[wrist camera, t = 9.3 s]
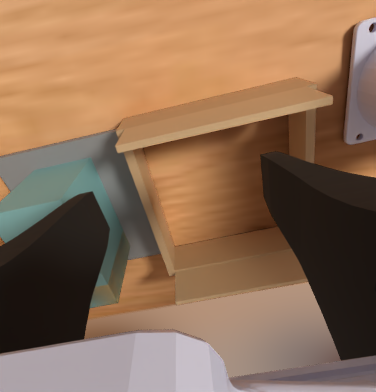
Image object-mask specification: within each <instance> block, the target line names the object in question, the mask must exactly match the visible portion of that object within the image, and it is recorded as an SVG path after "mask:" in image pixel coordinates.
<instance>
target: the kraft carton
mask: <svg viewBox="0 0 376 392" xmlns="http://www.w3.org/2000/svg"><path fill="white" fill-rule="evenodd" d="M332 104H333V96H332V95H329V94H326V93H324V92H321V91H318V90H317V84H316V83H313V82H310V81H307V80H304V79H301V78H297V77H295V78H291V79H287V80H283V81H279V82H274V83H270V84H266V85H262V86H258V87H253V88H249V89H245V90H241V91H237V92H232V93H228V94H224V95H220V96H216V97H211V98H207V99H203V100H199V101H195V102H190V103H186V104H182V105H178V106H174V107H169V108H165V109H161V110H157V111H153V112H148V113H144V114H140V115H136V116H132V117H127V118H124V119H123V120H122V122H121V124H120V125H119V127H118V128H117V130H116V134H117V136H118V139H119V140H118V142H117V144H116V145H115V147H116V150H117V152H118V153H121V152H124V155H125V158H126V161H127V163H128V166H129V169H130V171H131V174H132V177H133V179H134V182H135V185H136V187H137V190H138V193H139V196H140V198H141V201H142V204H143V206H144V209H145V212H146V214H147V217H148V220H149V222H150V225H151V228H152V230H153V233H154V236H155V239H156V241H157V244H158V247H159V249H160V252H161V255H162V257H163V260H164V263H165V265H166V268H167V271H168V274H169V276H175V303H176V305H181V304H186V303H192V302H198V301H203V300H209V299H215V298H220V297H226V296H232V295H237V294H243V293H249V292H254V291H260V290H265V289H271V288H277V287H282V286H288V285H294V284H299V283H305V282H308V280H307V278H306V276H305V273H304V271H303V269H302V267H301V265H300V263H299V261H298V259H297V257H296V255H295V254H294V252H293V250H292V249H291V247H290V245H289V244H288V242H287V240H286V239H285V237H284V236H283V234H282V232H281V231H280V229H279V227H273V228H268V229H263V230H258V231H252V232H247V233H242V234H237V235H232V236H227V237H222V238H217V239H211V240H206V241H201V242H196V243H191V244H186V245H181V246H174V243H173V240H172V237H171V234H170V231H169V228H168V225H167V222H166V218H165V215H164V212H163V209H162V206H161V203H160V200H159V197H158V194H157V191H156V188H155V185H154V182H153V179H152V176H151V173H150V170H149V167H148V164H147V161H146V158H145V155H144V152H143V149H142V148H143V147H147V146H152V145H156V144H161V143H165V142H169V141H174V140H178V139H183V138H187V137H191V136H196V135H200V134H204V133H209V132H213V131H218V130H222V129H226V128H231V127H235V126H240V125H244V124H248V123H253V122H257V121H262V120H266V119H270V118H275V117H279V116H284V115H288V121H289V155H290V156H293V157H296V158H299V159H301V160H304V161H307V162H310V163H313V164H314V159H315V129H316V108H319V107H323V106H327V105H332Z"/></svg>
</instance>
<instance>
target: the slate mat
mask: <svg viewBox="0 0 376 392" xmlns="http://www.w3.org/2000/svg"><path fill="white" fill-rule="evenodd" d="M116 130H117V129H114V130H110V131H105V132H101V133H97V134H93V135H88V136H84V137H80V138H76V139H71V140H67V141H63V142H59V143H54V144H50V145H46V146H42V147H37V148H33V149H29V150H25V151H20V152H16V153H12V154H8V155H4V156H0V176H1V178H2V179H3V181H4V182H5V184H6V185H7V187H8V188H9V190H10V191H12V190H14V189H15V188H16V187H17V186H18V185H19V184H20V183H21V182H22V181H23V180H24V179H25V178H26V177H28V176H29V175H30V174H31V173H32V172H33V171H34V170H37V169H42V168H46V167H50V166H55V165H59V164H64V163H68V162H72V161H77V160H81V159H85V158H90V157H91V159H92V161H93V164H94V166H95V168H96V170H97V172H98V175H99V177H100V179H101V181H102V184H103V186H104V188H105V190H106V193H107V195H108V197H109V199H110V202H111V204H112V206H113V208H114V211H115V213H116V215H117V217H118V220H119V222H120V224H121V226H122V229H123V231H124V233H125V235H126V238H127V240H128V242H129V244H130V251H129V255H128V260H131V259H136V258H141V257H146V256H151V255H157V254H161V252H160V249H159V247H158V244H157V241H156V239H155V236H154V233H153V230H152V228H151V225H150V222H149V220H148V217H147V214H146V212H145V209H144V206H143V204H142V201H141V198H140V196H139V193H138V190H137V187H136V185H135V182H134V179H133V177H132V174H131V171H130V169H129V166H128V163H127V161H126V158H125V155H124V152H121V153H118V152H117V150H116V147H115V145H116V144H117V142H118V140H119V139H118V136H117V134H116Z"/></svg>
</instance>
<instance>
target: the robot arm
mask: <svg viewBox="0 0 376 392" xmlns="http://www.w3.org/2000/svg"><path fill="white" fill-rule="evenodd" d="M372 23H373V24H374V28H373V30H372V31H371V32H370V31H369V27H370V25H371V24H372ZM358 134H360V137H359V138H357V139H356V137H357V135H358ZM343 139H344V142H345V143H347V144H349V145H353V144H357V143H362V142H367V141H371V140H376V17H374V18H370V19H366V20H362V21H360V22H359V23H358V24H357V25H356V26H355V28H354V31H353V40H352V51H351V62H350V73H349V84H348V95H347V106H346V116H345V127H344V138H343ZM260 157H261V169H262V181H263V193H264V199H265V201H266V204H267V206H268V208H269V211H270V213H271V215H272V217H273V219H274V221H275V222H276V224H277V226H278V227H279V229H280V231H281V232H282V234H283V236H284V237H285V239H286V240H287V242H288V244H289V245H290V247H291V249H292V250H293V252H294V254H295V255H296V257H297V259H298V261H299V263H300V265H301V267H302V269H303V271H304V273H305V276H306V278H307V280H308V282H309V284H310V286H311V289H312V291H313V293H314V295H315V298H316V300H317V303H318V305H319V307H320V309H321V312H322V314H323V316H324V319H325V321H326V324H327V326H328V329H329V331H330V333H331V336H332V338H333V341H334V343H335V346H336V349H337V351H338V354H339V356H340V359H341V361H336V362H329V363H323V364H316V365H309V366H303V367H296V368H290V369H283V370H276V371H270V372H264V373H257V374H250V375H244V376H237V377H231V378H228V375H227V372H226V368H225V364H224V361H223V360H222V358H221V357H220V356H219V355H218V354H217V353H216V352H215V350H214V349H213V348H212V347H211V346H210V345H209V343H207V342H206V341H204V340H202V339H200V338H197V337H194V336H191V335H188V334H185V333H182V332H180V331H177V330H136V331H131V332H125V333H119V334H113V335H107V336H101V337H95V338H89V339H84V336H85V330H86V324H87V319H88V314H89V309H90V304H91V300H92V296H93V292H94V289H95V286H96V283H97V280H98V276H99V273H100V270H101V267H102V264H103V261H104V257H105V254H106V251H107V247H108V241H109V233H110V227H109V225H108V223H107V221H106V219H105V217H104V214H103V212H102V210H101V208H100V206H99V204H98V202H97V200H96V198H95V196H94V193H93V191H91V192H86V193H82V194H78V195H76V196H74V197H73V198H71V199H69V200H68V201H66V202H65V203H63V204H62V205H61V206H59V207H58V208H56V209H55V210H54V211H52V212H51V213H50V214H48V215H47V216H45V217H44V218H43V219H41V220H40V221H38V222H37V223H36V224H34V225H33V226H31V227H30V228H28V229H27V230H25V231H24V232H22V233H21V234H19V235H18V236H16V237H15V238H13V239H12V240H10V241H8V242H7V243H5V244H3V245H2V246H0V392H376V178H374V177H368V176H362V175H357V174H352V173H347V172H342V171H338V170H334V169H331V168H327V167H323V166H320V165H317V164H313V163H310V162H307V161H304V160H301V159H299V158H296V157H293V156H290V155H287V154H284V153H281V152H276V151H275V152H270V153H266V154H261V155H260Z"/></svg>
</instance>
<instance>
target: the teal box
mask: <svg viewBox="0 0 376 392" xmlns="http://www.w3.org/2000/svg"><path fill="white" fill-rule="evenodd" d="M91 191H93V193H94V196H95V198H96V200H97V202H98V204H99V206H100V208H101V210H102V212H103V214H104V217H105V219H106V221H107V223H108V225H109V227H110V233H109V241H108V247H107V251H106V254H105V257H104V261H103V264H102V267H101V270H100V273H99V276H98V280H97V283H96V286H95V289H94V292H93V296H92V300H91V304H90V308H93V307H99V306H104V305H110V304H115V303H118V301H119V296H120V292H121V287H122V283H123V278H124V274H125V269H126V264H127V260H128V255H129V251H130V244H129V242H128V240H127V238H126V235H125V233H124V231H123V229H122V226H121V224H120V222H119V220H118V217H117V215H116V213H115V211H114V208H113V206H112V204H111V202H110V199H109V197H108V195H107V193H106V190H105V188H104V186H103V184H102V181H101V179H100V177H99V175H98V172H97V170H96V168H95V166H94V164H93V161H92V159H91V157H90V158H85V159H81V160H77V161H72V162H68V163H64V164H59V165H55V166H50V167H46V168H42V169H37V170H34V171H33V172H32V173H31V174H30V175H29V176H28V177H26V178H25V179H24V180H23V181H22V182H21V183H20V184H19V185H18V186H17V187H16V188H15V189H14V190H12V191H11V192H10V193H9V194H8V195H7V196H6V197H5V198H4V199H3V200H2V201H1V202H0V237H1V238H2V240H3V241H4V242H5V243H7V242H8V241H10V240H12V239H13V238H15V237H16V236H18V235H19V234H21V233H22V232H24V231H25V230H27V229H28V228H30V227H31V226H33V225H34V224H36V223H37V222H38V221H40V220H41V219H43V218H44V217H45V216H47V215H48V214H50V213H51V212H52V211H54V210H55V209H56V208H58V207H59V206H61V205H62V204H63V203H65V202H66V201H68V200H69V199H71V198H73V197H74V196H76V195H78V194H82V193H86V192H91Z"/></svg>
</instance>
